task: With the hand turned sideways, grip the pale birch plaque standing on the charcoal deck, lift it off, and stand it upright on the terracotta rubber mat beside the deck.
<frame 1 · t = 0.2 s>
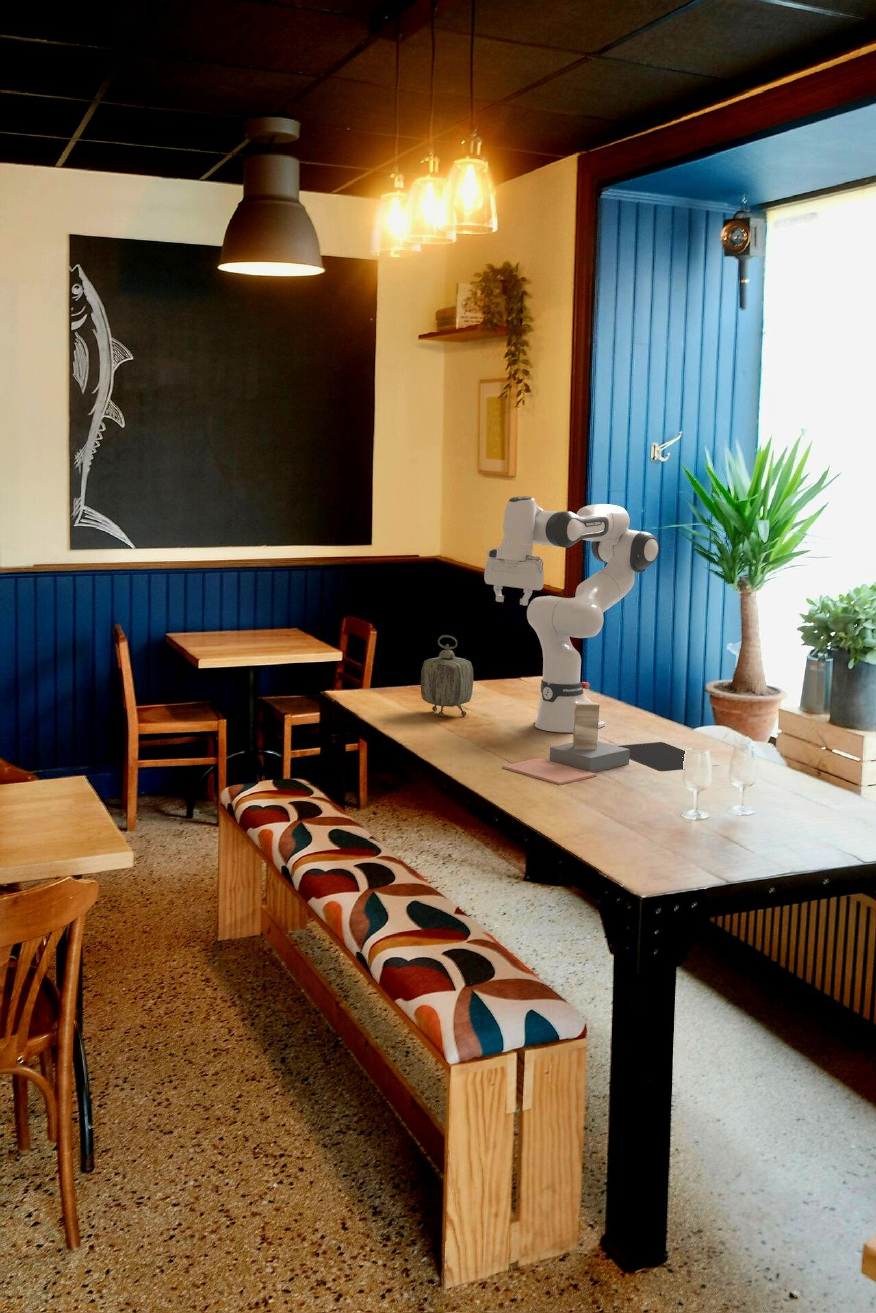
hand: (511, 603, 345), 39 cm above the table, tool pointing down, fingers open, 8 cm apart
tabletop clock: (444, 716, 379), on the table
birch plaque: (584, 748, 326), point 4 cm above the table, touching charcoal deck
tablet: (660, 758, 336), on the table
terracotta mat: (548, 772, 316), on the table
charcoal deck: (589, 762, 326), on the table
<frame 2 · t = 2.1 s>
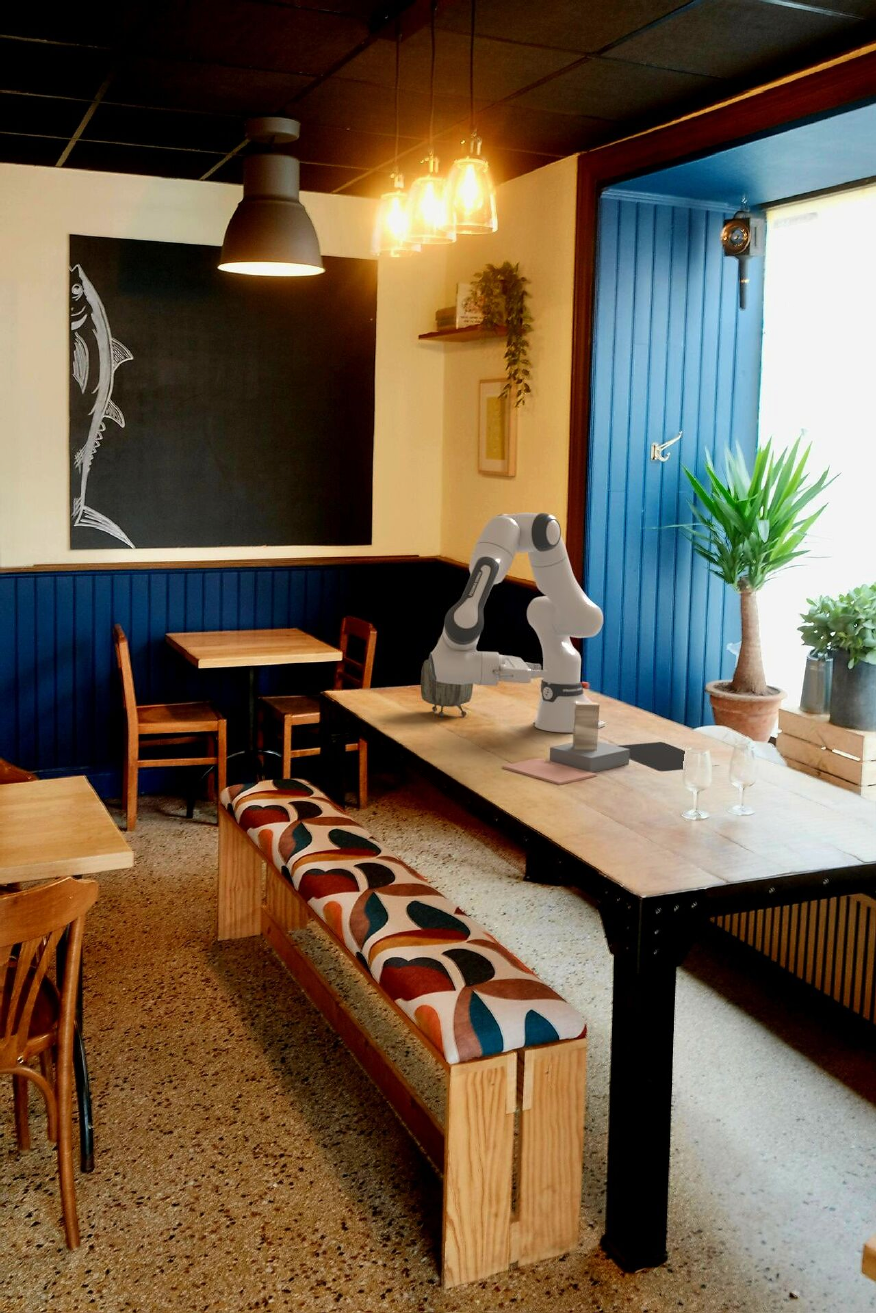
hand: (543, 670, 321), 25 cm above the table, tool horizontal, fingers open, 8 cm apart
nothing on the table moved.
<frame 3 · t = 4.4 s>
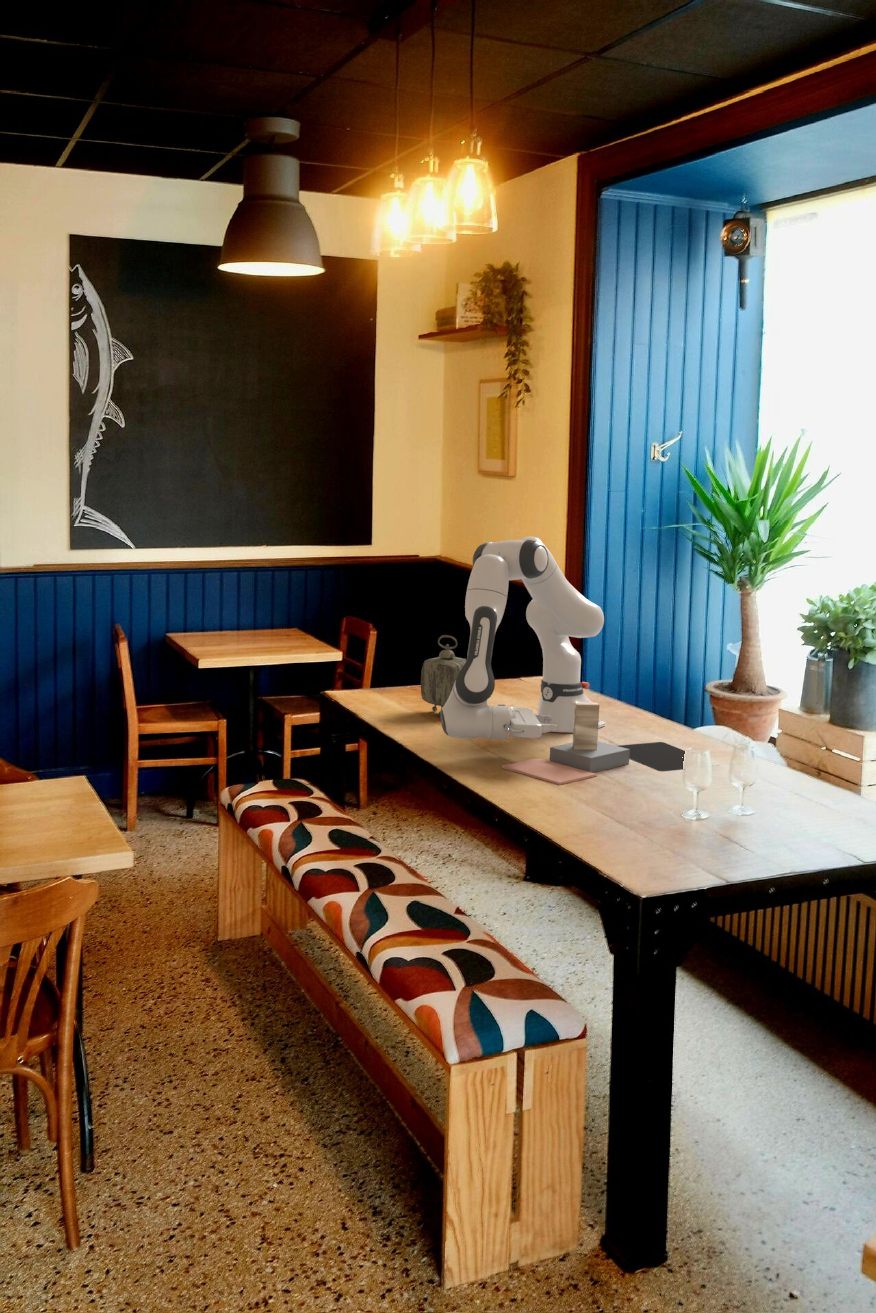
hand: (554, 723, 324), 10 cm above the table, tool horizontal, fingers open, 8 cm apart
nothing on the table moved.
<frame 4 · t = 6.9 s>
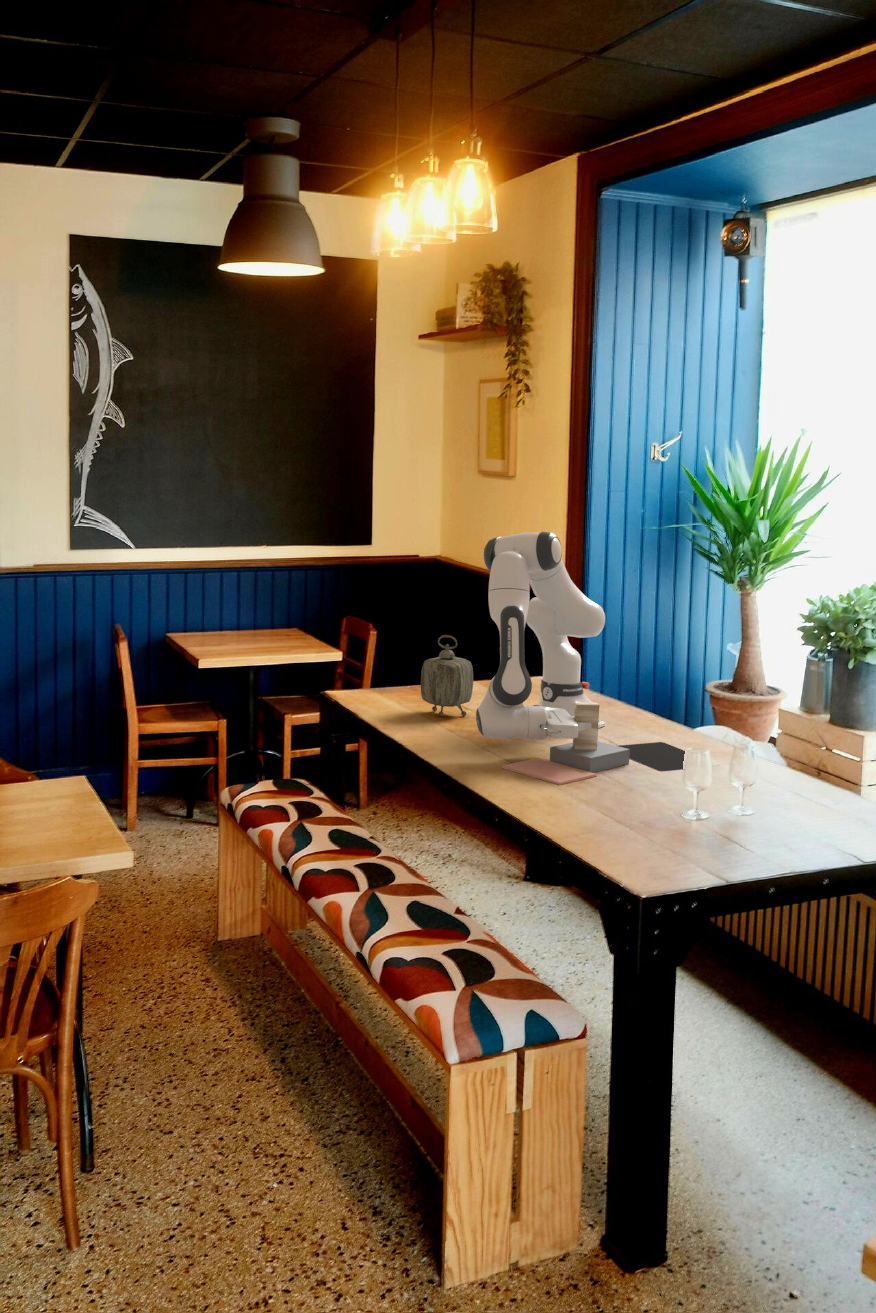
hand: (589, 723, 325), 11 cm above the table, tool horizontal, fingers closed on birch plaque, 3 cm apart
birch plaque: (584, 748, 326), point 4 cm above the table, touching charcoal deck, gripper
everything else where it was.
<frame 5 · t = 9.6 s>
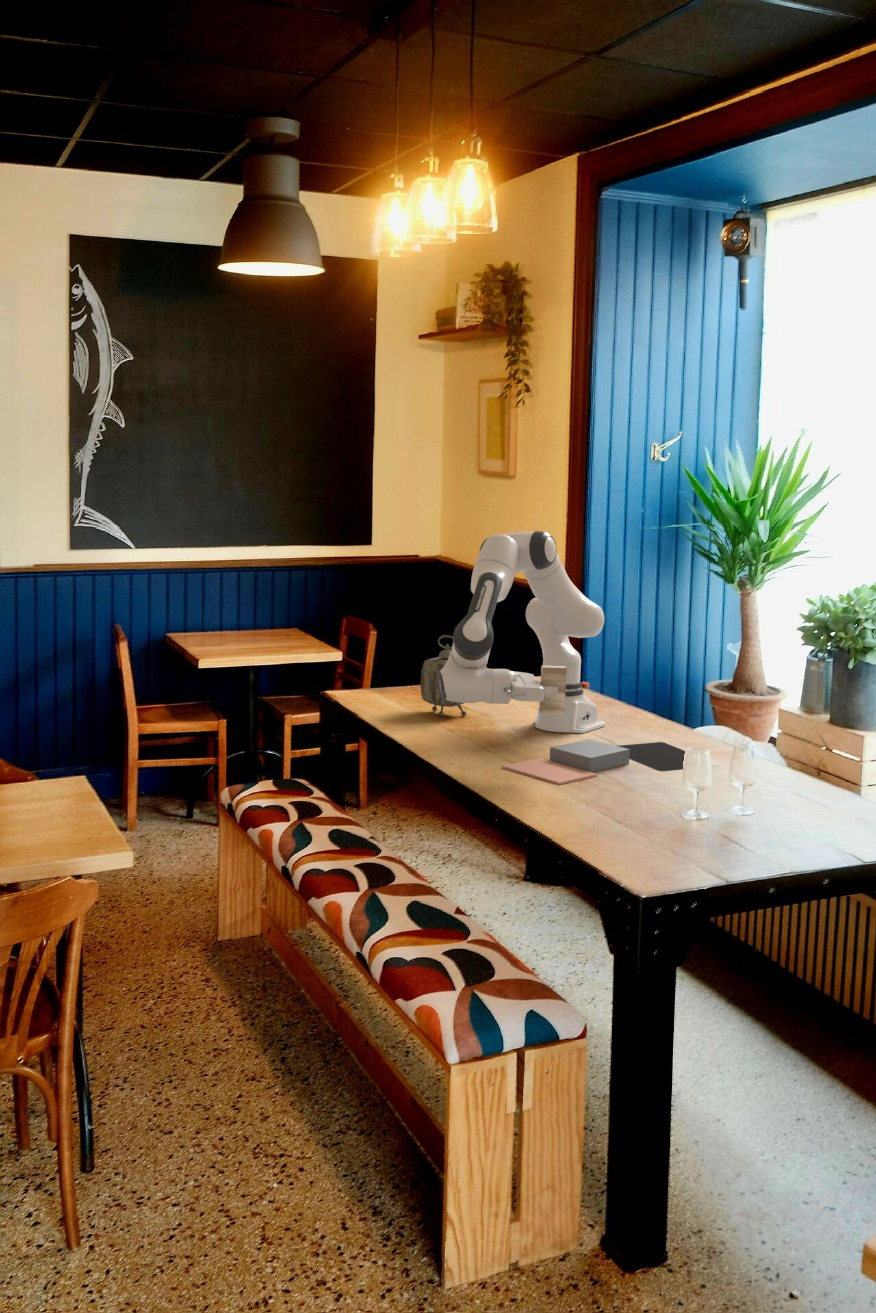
hand: (556, 687, 312), 22 cm above the table, tool horizontal, fingers closed on birch plaque, 3 cm apart
birch plaque: (551, 713, 313), point 16 cm above the table, touching gripper
everything else where it was.
when the fingers open (9 cm above the table, at t = 12.7 s): birch plaque drops 2 cm, resting on terracotta mat.
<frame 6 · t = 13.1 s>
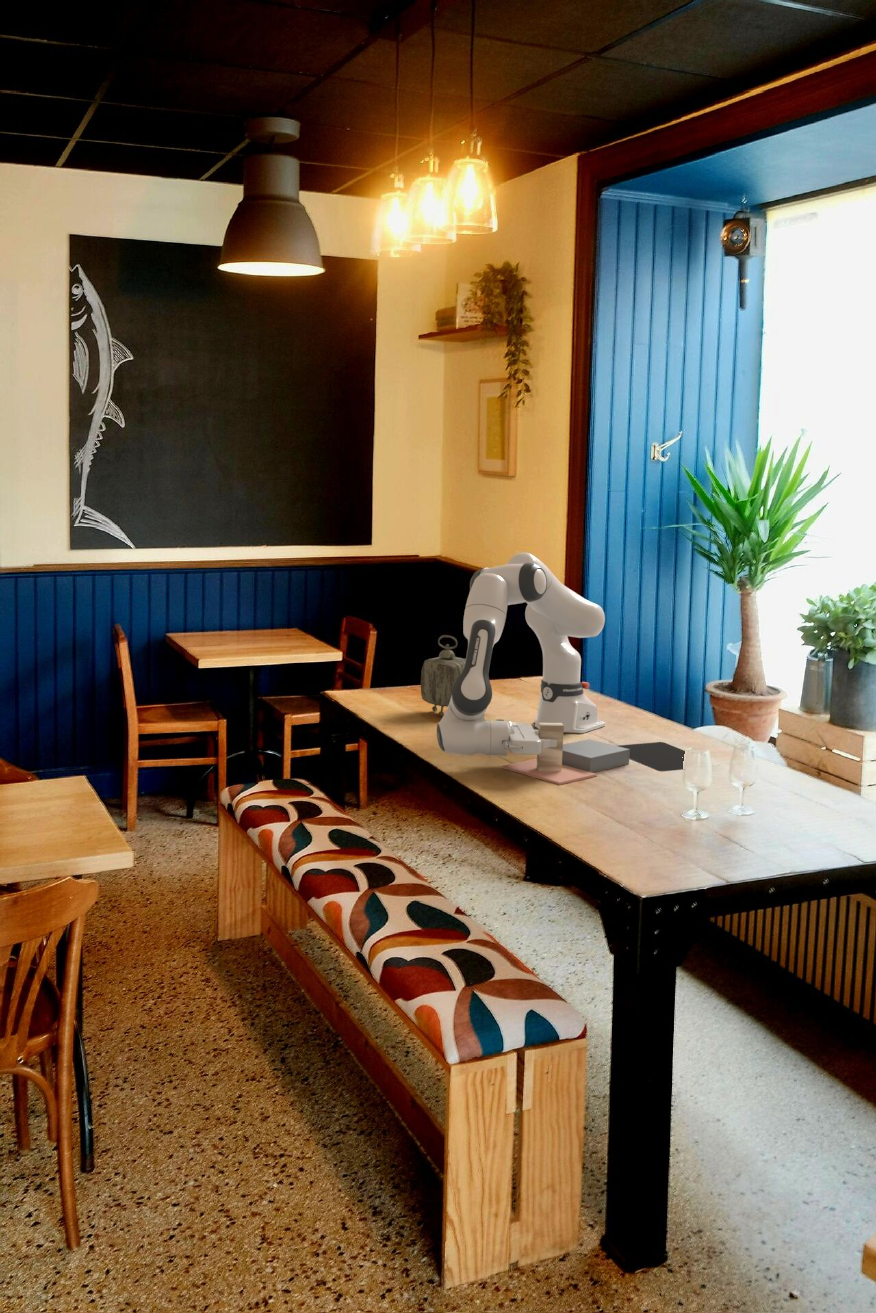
hand: (553, 739, 314), 9 cm above the table, tool horizontal, fingers open, 7 cm apart
birch plaque: (548, 769, 315), point 1 cm above the table, touching terracotta mat
everything else where it was.
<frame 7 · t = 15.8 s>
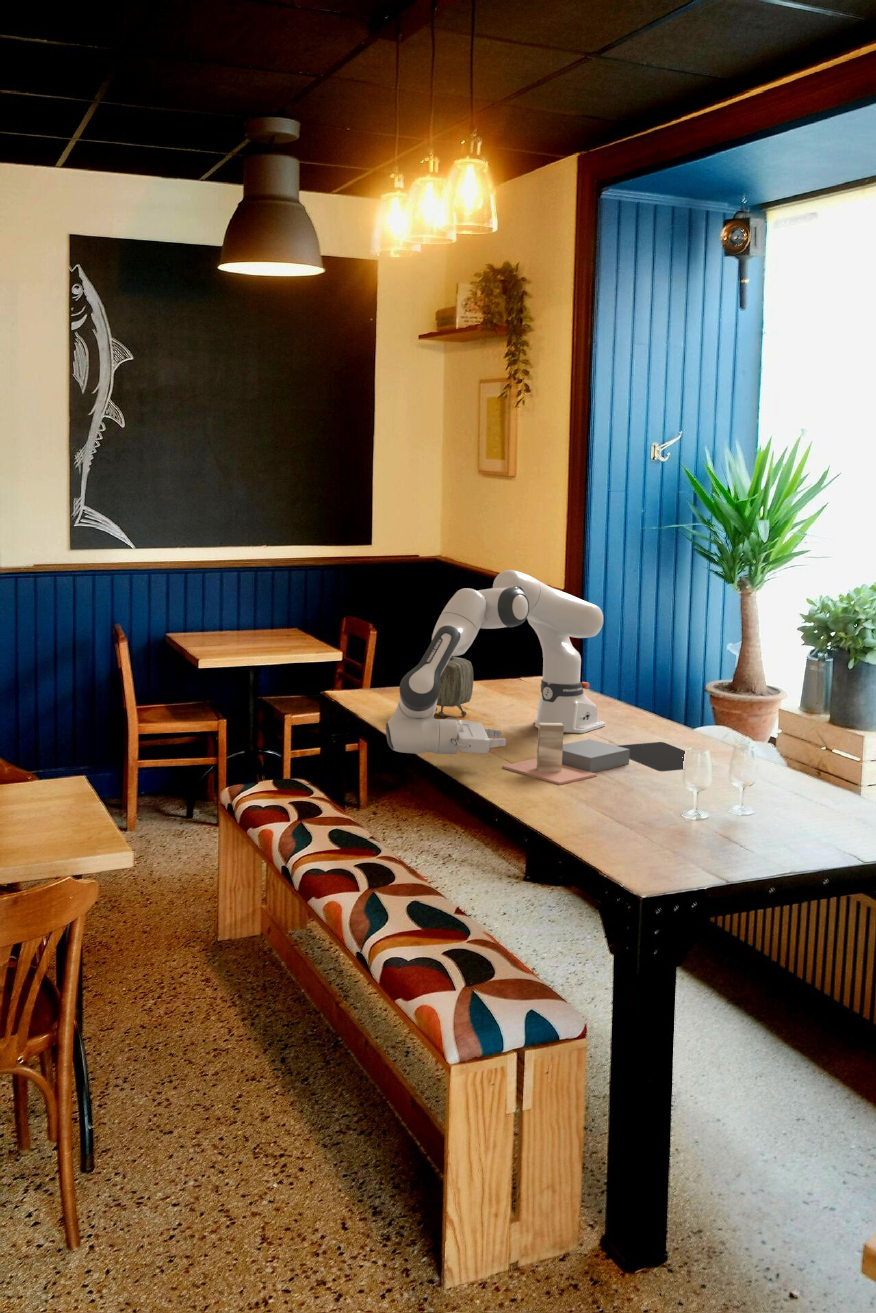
hand: (503, 737, 313), 9 cm above the table, tool horizontal, fingers open, 8 cm apart
nothing on the table moved.
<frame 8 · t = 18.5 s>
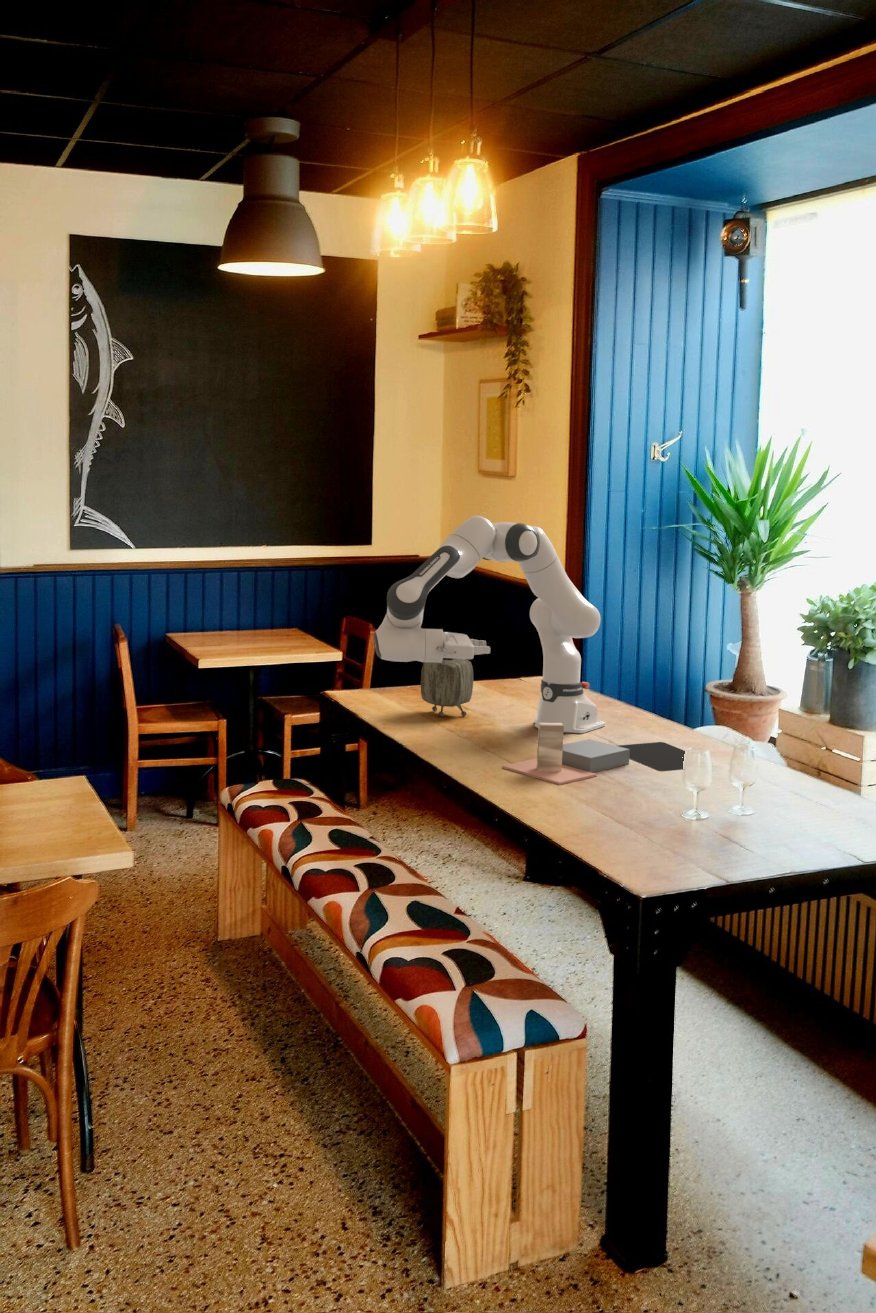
hand: (488, 647, 323), 30 cm above the table, tool horizontal, fingers open, 8 cm apart
nothing on the table moved.
at the end: birch plaque inside the target area on the terracotta mat (0.0 cm from its centre), point 0.6 cm above the terracotta mat's base; birch plaque tilted 0°; the gripper is holding nothing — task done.
